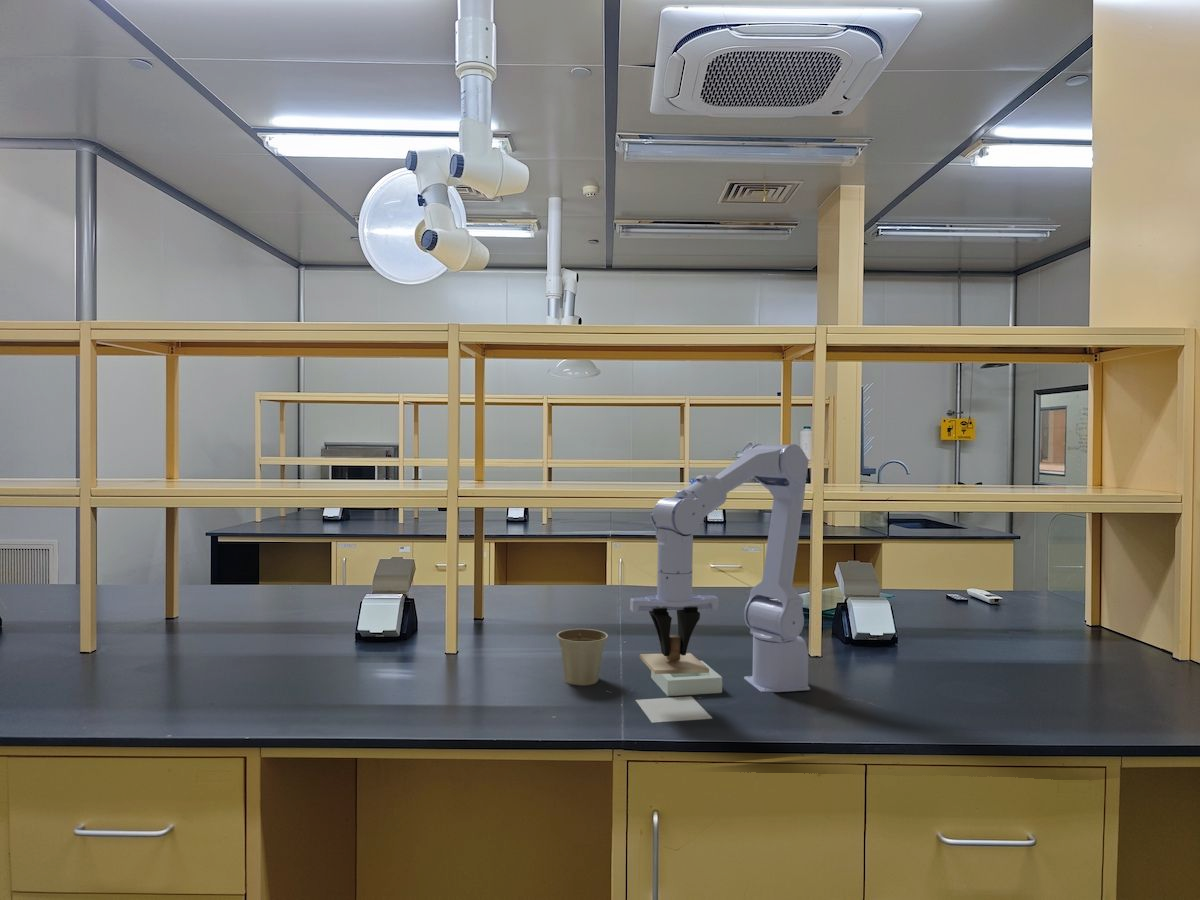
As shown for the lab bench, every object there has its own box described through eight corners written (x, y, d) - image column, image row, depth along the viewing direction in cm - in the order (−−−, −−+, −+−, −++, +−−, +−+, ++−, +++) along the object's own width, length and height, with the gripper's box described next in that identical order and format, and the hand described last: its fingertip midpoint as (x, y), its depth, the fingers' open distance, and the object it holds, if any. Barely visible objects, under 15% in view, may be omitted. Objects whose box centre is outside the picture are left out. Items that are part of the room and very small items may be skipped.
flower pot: (579, 670, 137) (579, 625, 137) (617, 681, 131) (618, 634, 131) (545, 682, 130) (545, 635, 130) (584, 694, 124) (585, 644, 124)
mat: (691, 698, 122) (691, 696, 122) (712, 720, 113) (712, 718, 113) (635, 702, 120) (635, 699, 120) (651, 725, 110) (652, 722, 110)
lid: (690, 656, 122) (691, 629, 122) (708, 672, 113) (710, 643, 113) (639, 657, 120) (640, 630, 120) (654, 674, 111) (655, 644, 111)
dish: (701, 678, 134) (702, 660, 134) (722, 696, 125) (722, 677, 125) (651, 681, 132) (651, 663, 132) (667, 700, 122) (667, 680, 122)
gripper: (707, 566, 122) (706, 645, 122) (625, 568, 119) (624, 649, 119) (723, 573, 115) (722, 657, 115) (636, 575, 112) (635, 661, 112)
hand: (673, 654), depth 116 cm, fingers closed on lid, 2 cm apart
